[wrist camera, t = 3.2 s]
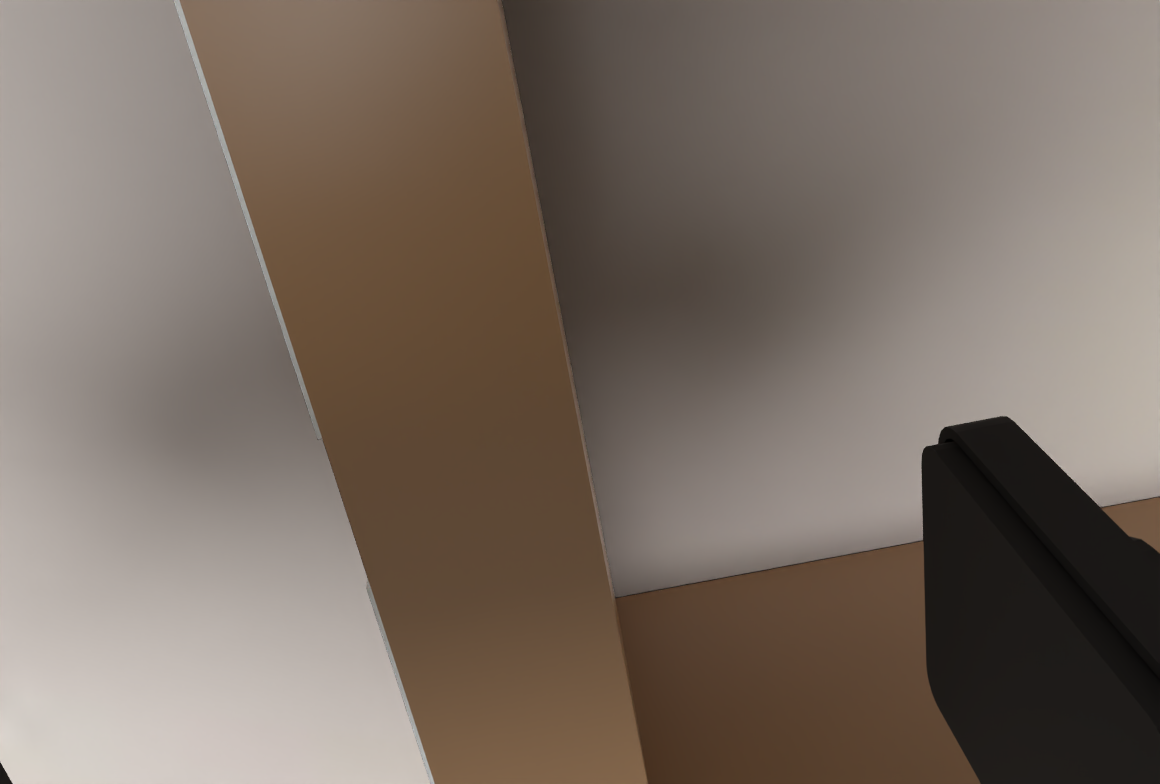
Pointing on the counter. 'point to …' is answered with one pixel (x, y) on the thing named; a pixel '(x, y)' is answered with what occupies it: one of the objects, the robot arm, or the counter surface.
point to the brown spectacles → (521, 439)
